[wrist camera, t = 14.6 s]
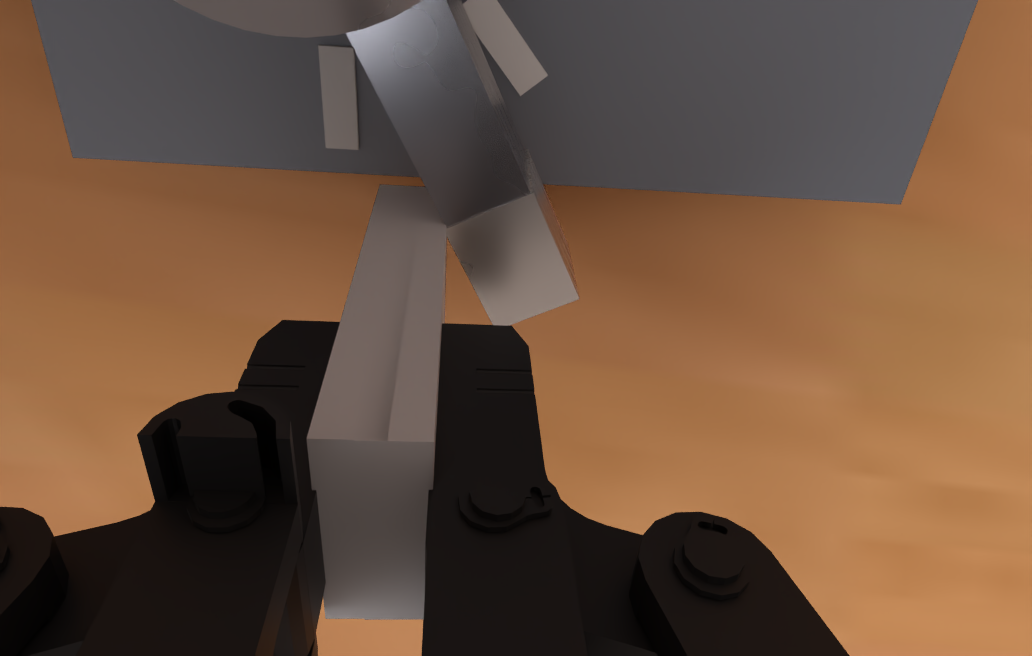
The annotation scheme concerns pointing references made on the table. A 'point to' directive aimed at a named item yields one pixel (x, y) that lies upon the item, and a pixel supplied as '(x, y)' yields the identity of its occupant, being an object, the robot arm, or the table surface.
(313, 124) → the console
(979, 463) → the table surface
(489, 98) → the dial
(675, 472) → the table surface
